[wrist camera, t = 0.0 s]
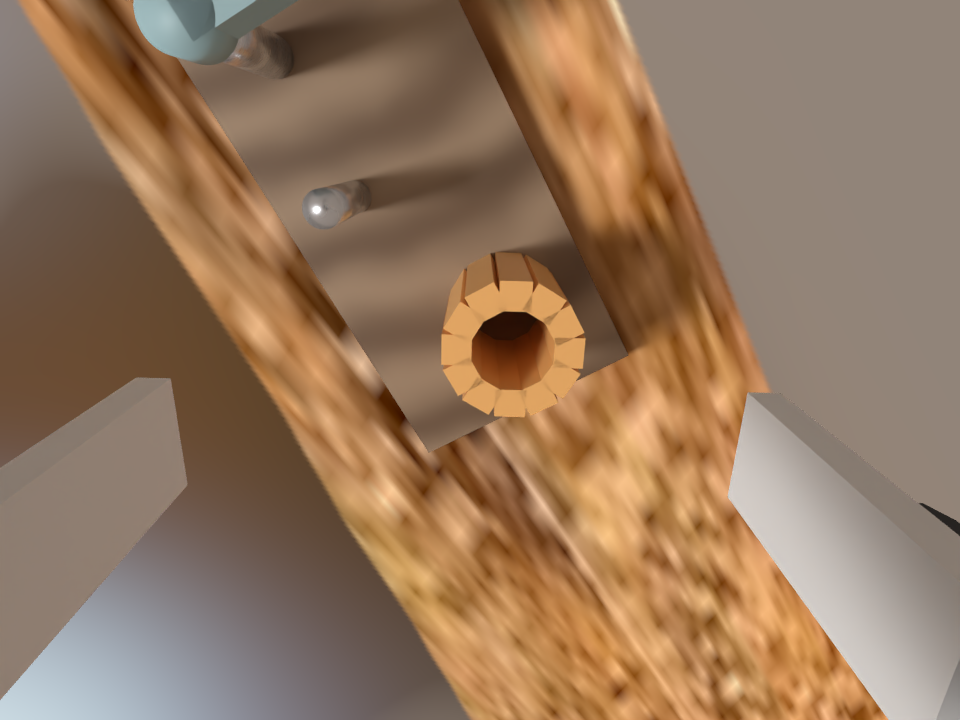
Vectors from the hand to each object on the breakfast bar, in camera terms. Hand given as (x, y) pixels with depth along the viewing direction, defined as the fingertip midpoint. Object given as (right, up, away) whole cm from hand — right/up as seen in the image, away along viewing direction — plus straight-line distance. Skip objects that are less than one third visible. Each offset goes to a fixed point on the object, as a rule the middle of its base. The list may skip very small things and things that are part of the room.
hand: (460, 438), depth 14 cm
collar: (+2, +5, +26) cm, 27 cm away
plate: (-3, +11, +26) cm, 28 cm away
